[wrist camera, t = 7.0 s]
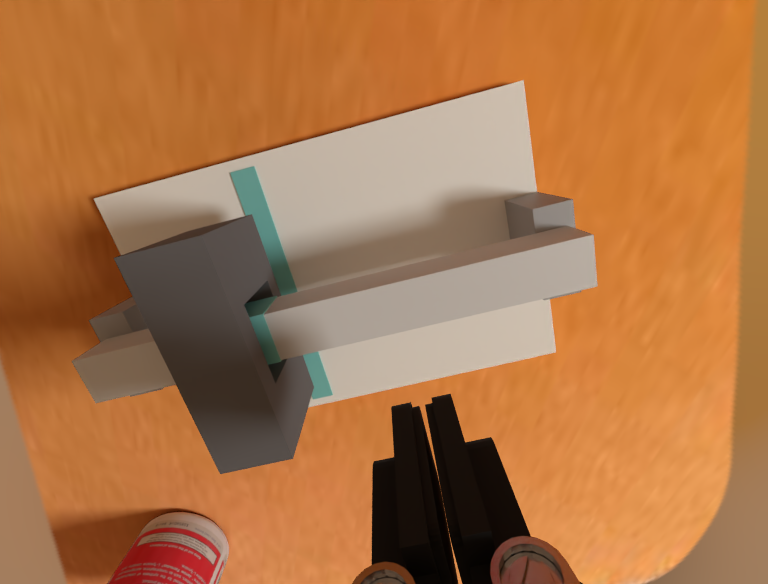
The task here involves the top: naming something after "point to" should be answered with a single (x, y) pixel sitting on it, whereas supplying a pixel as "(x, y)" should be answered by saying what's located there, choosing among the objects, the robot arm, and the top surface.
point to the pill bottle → (175, 552)
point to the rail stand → (371, 251)
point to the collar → (221, 340)
